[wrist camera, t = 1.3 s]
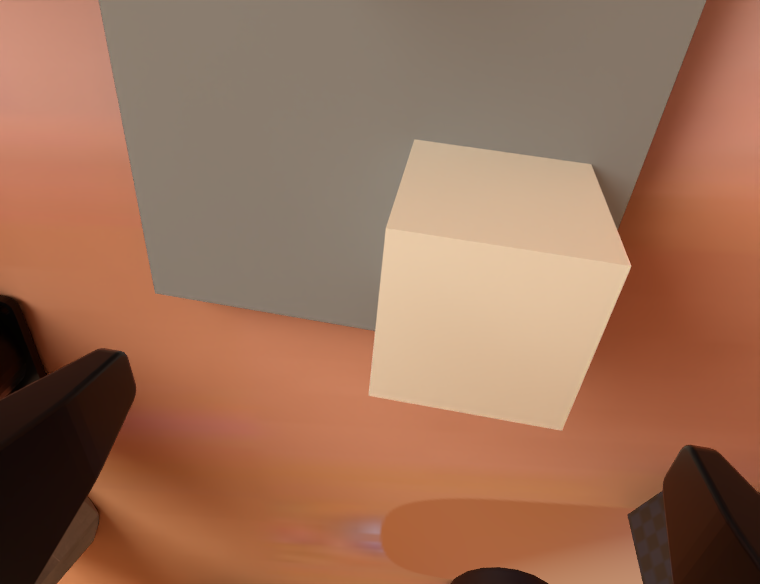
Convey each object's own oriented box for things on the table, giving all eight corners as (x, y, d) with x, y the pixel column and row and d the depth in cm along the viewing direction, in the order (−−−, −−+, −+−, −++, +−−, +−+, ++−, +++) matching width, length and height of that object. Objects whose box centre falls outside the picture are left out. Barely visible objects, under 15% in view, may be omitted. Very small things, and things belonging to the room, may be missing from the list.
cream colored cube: (544, 305, 19) (562, 430, 14) (396, 281, 19) (368, 395, 15) (590, 164, 16) (631, 266, 11) (414, 139, 16) (386, 228, 12)
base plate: (561, 337, 21) (566, 363, 20) (173, 272, 23) (154, 293, 22) (949, -722, 9) (1024, -825, 7) (7, -731, 10) (-60, -820, 9)
